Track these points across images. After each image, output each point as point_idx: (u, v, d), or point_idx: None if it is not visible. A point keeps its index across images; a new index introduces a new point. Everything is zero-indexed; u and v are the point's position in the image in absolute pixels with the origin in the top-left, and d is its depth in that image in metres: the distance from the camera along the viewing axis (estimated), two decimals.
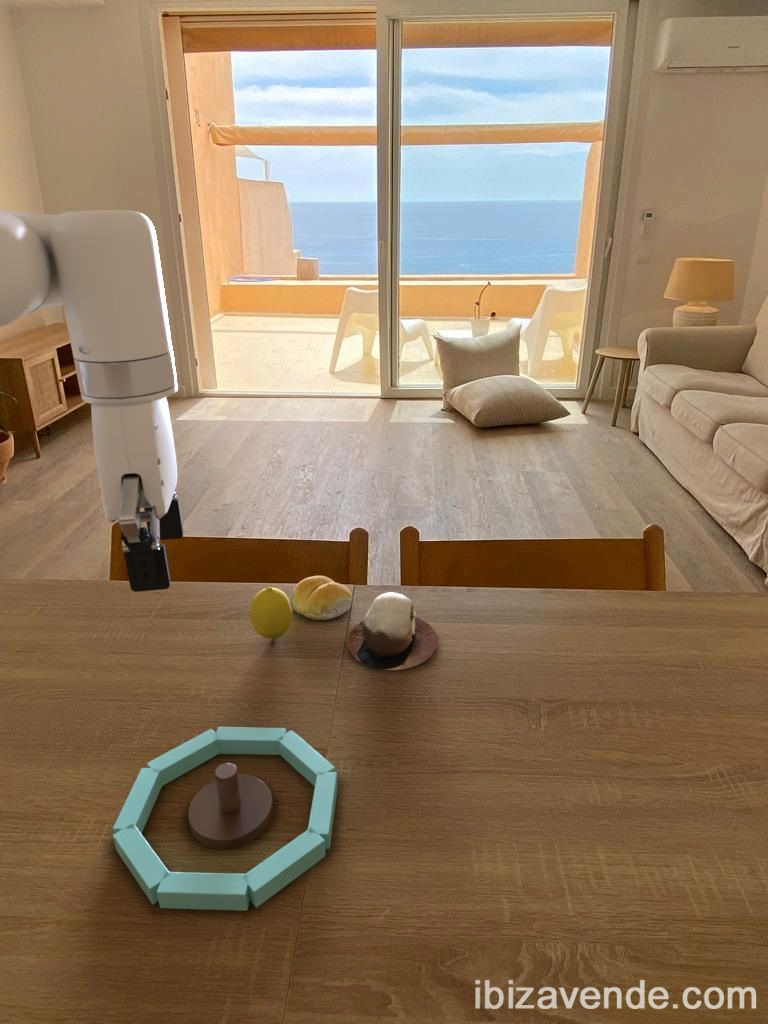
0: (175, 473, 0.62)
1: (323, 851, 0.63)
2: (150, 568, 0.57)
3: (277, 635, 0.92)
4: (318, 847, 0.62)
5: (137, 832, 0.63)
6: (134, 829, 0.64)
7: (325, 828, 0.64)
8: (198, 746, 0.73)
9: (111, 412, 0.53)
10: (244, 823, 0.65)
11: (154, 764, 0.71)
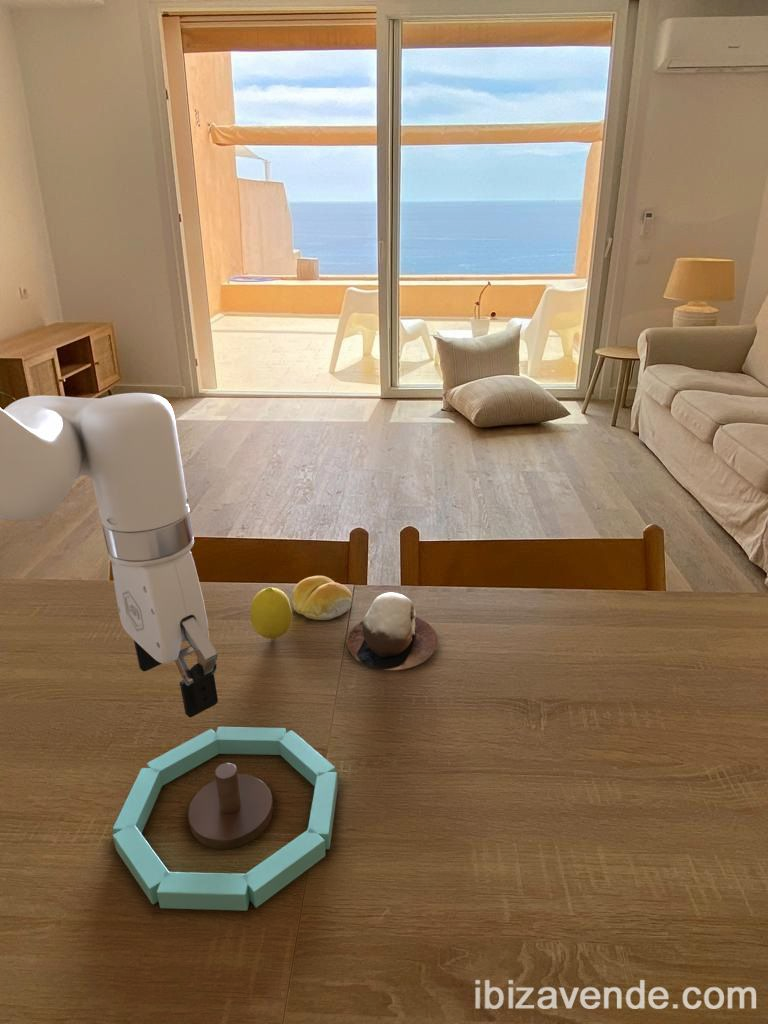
0: None
1: (323, 851, 0.63)
2: (208, 691, 0.65)
3: (277, 635, 0.92)
4: (318, 847, 0.62)
5: (137, 832, 0.63)
6: (134, 829, 0.64)
7: (325, 828, 0.64)
8: (198, 746, 0.73)
9: (169, 569, 0.60)
10: (244, 823, 0.65)
11: (154, 764, 0.71)
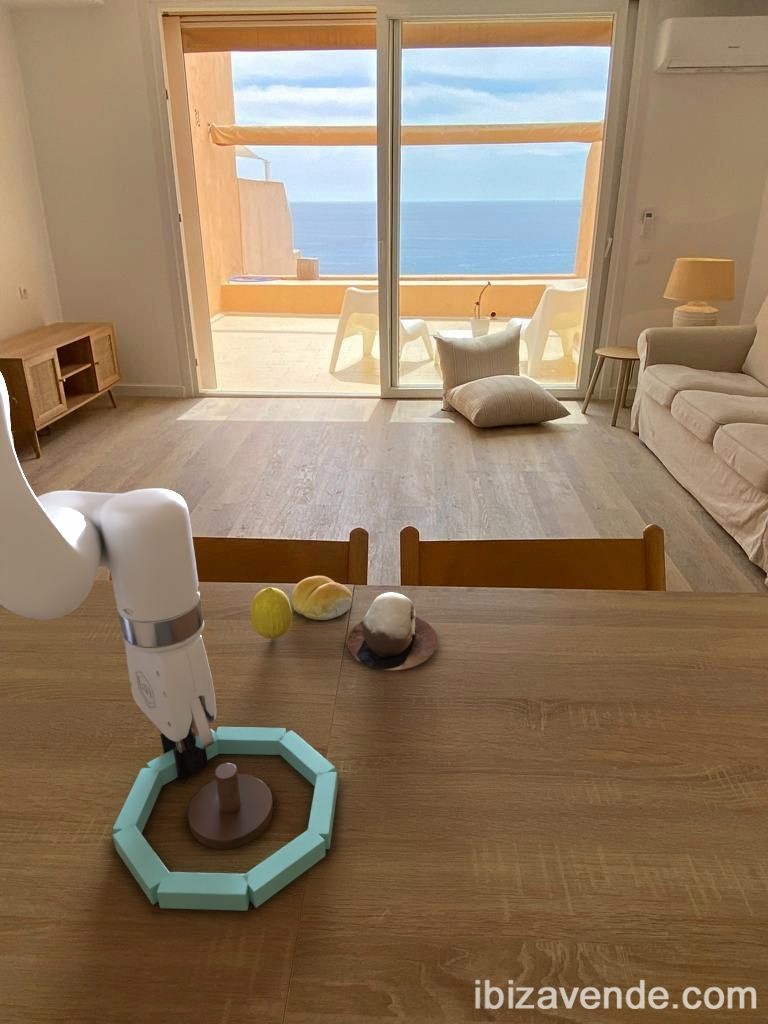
0: None
1: (323, 851, 0.63)
2: (198, 756, 0.71)
3: (277, 635, 0.92)
4: (318, 847, 0.62)
5: (137, 832, 0.63)
6: (134, 829, 0.64)
7: (325, 828, 0.64)
8: None
9: (181, 655, 0.63)
10: (244, 823, 0.65)
11: (154, 764, 0.71)
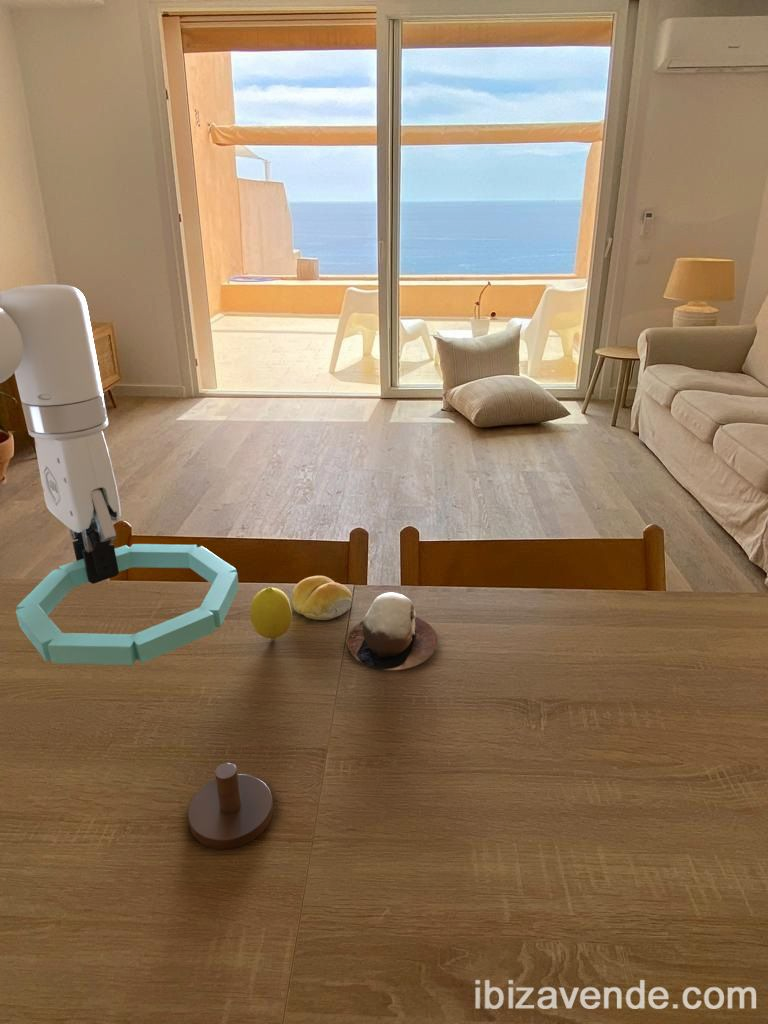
0: None
1: (213, 625, 0.66)
2: (107, 560, 0.75)
3: (277, 635, 0.92)
4: (206, 619, 0.66)
5: (39, 608, 0.67)
6: (37, 607, 0.68)
7: (216, 606, 0.67)
8: None
9: (79, 442, 0.67)
10: (244, 823, 0.65)
11: (66, 567, 0.75)
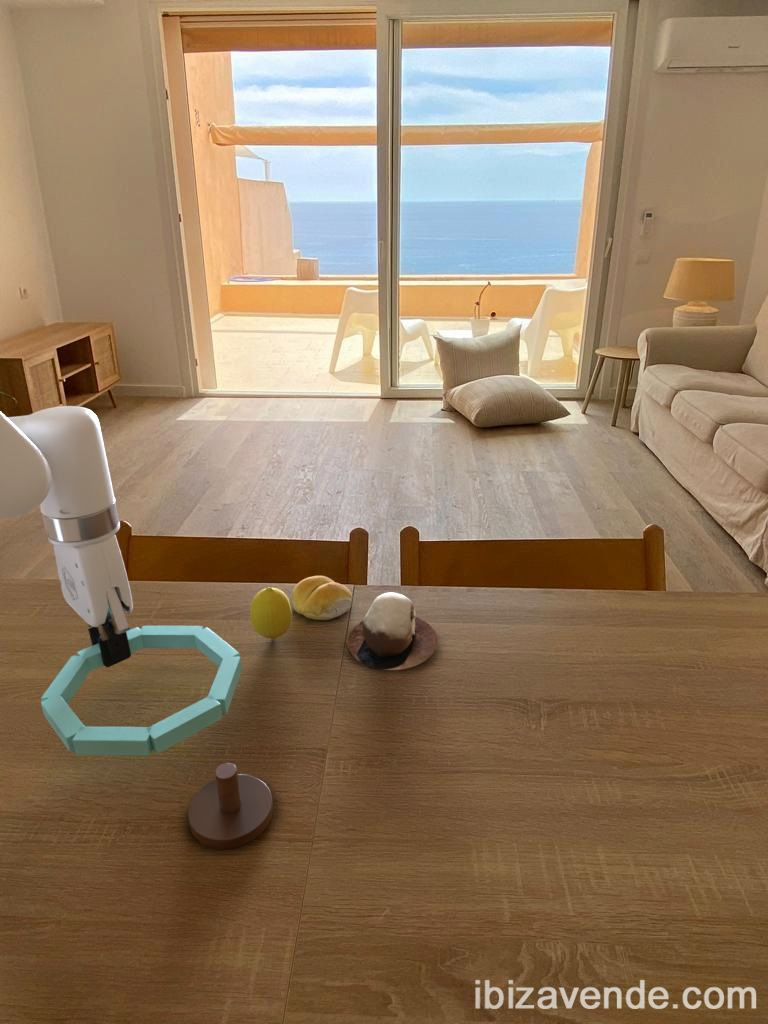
0: None
1: (220, 714, 0.73)
2: (121, 646, 0.82)
3: (277, 635, 0.92)
4: (214, 709, 0.73)
5: (61, 700, 0.74)
6: (59, 698, 0.75)
7: (222, 695, 0.74)
8: None
9: (95, 549, 0.74)
10: (244, 823, 0.65)
11: (83, 653, 0.82)
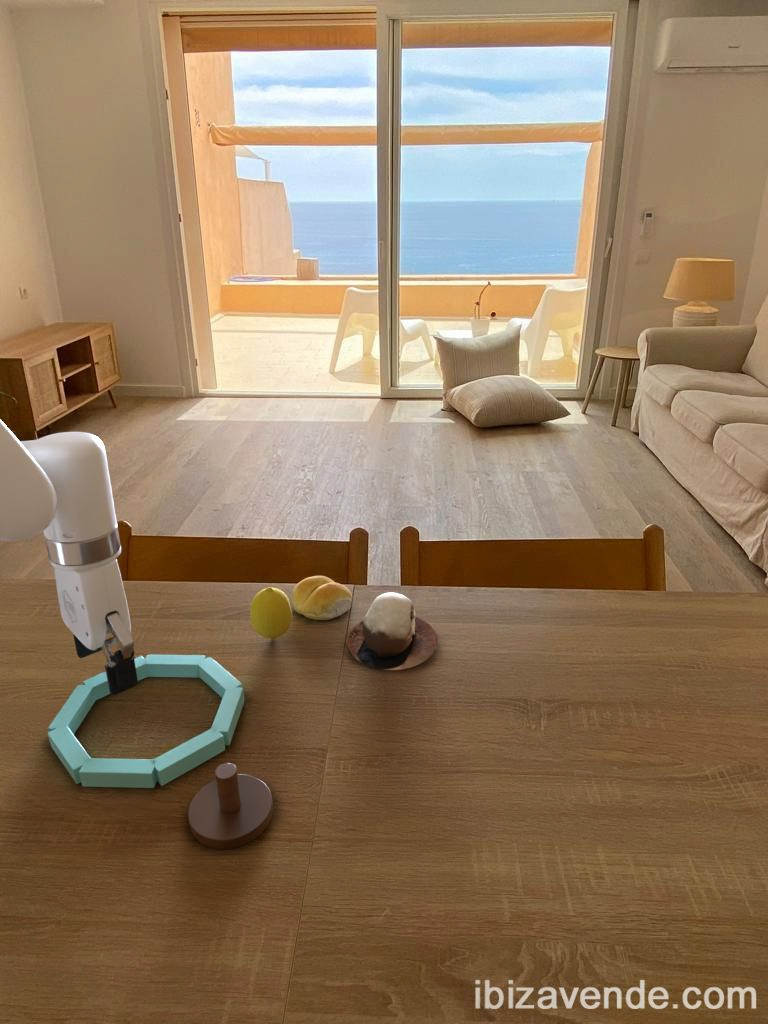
0: None
1: (223, 745, 0.75)
2: (128, 674, 0.80)
3: (277, 635, 0.92)
4: (217, 741, 0.74)
5: (68, 730, 0.76)
6: (66, 728, 0.76)
7: (225, 727, 0.76)
8: None
9: (96, 573, 0.75)
10: (244, 823, 0.65)
11: (89, 682, 0.83)
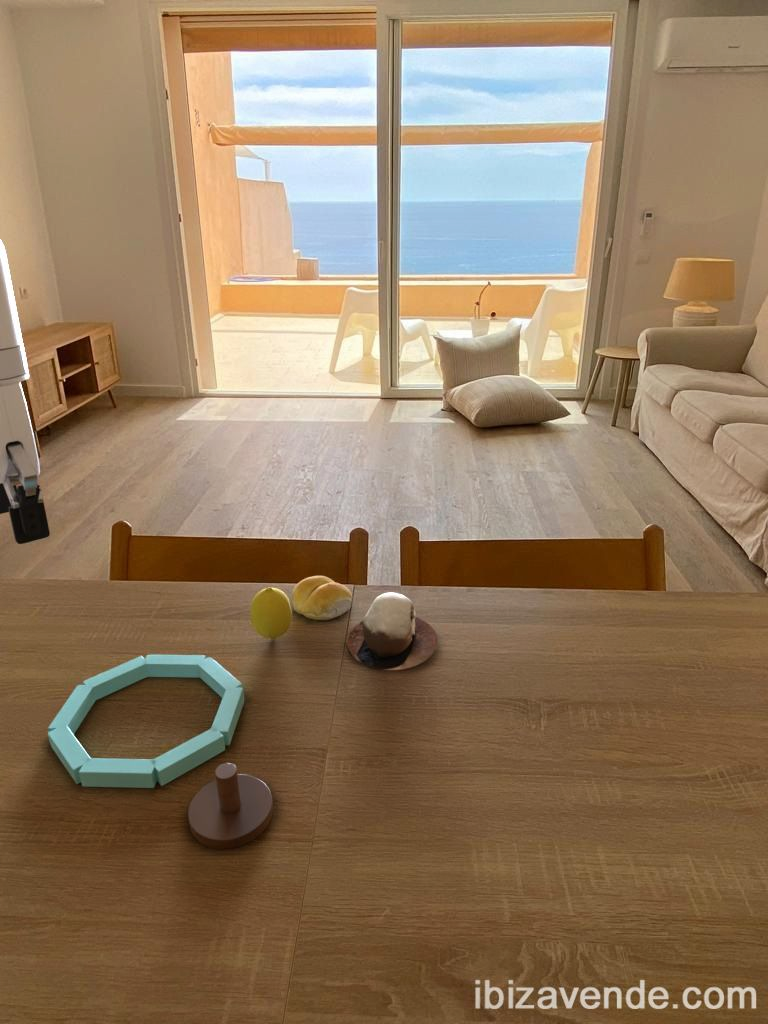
0: None
1: (223, 745, 0.75)
2: (36, 519, 0.70)
3: (277, 635, 0.92)
4: (217, 741, 0.74)
5: (68, 730, 0.76)
6: (66, 728, 0.76)
7: (225, 727, 0.76)
8: (128, 669, 0.86)
9: None
10: (244, 823, 0.65)
11: (89, 682, 0.83)
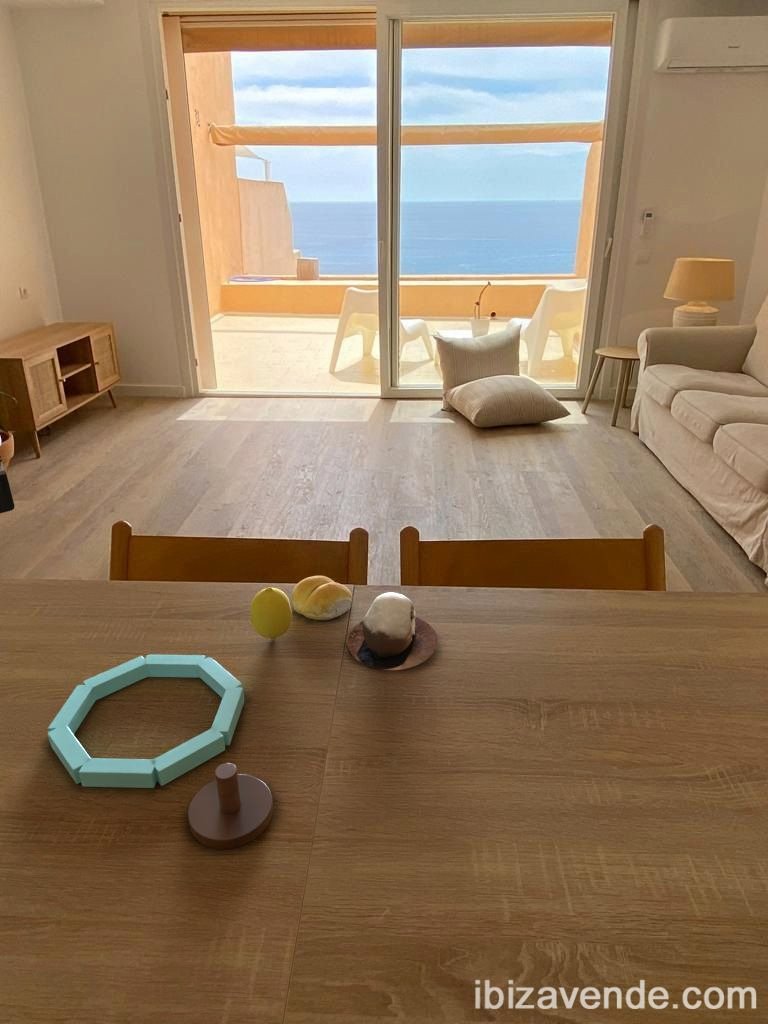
0: None
1: (223, 745, 0.75)
2: None
3: (277, 635, 0.92)
4: (217, 741, 0.74)
5: (68, 730, 0.76)
6: (66, 728, 0.76)
7: (225, 727, 0.76)
8: (128, 669, 0.86)
9: None
10: (244, 823, 0.65)
11: (89, 682, 0.83)
